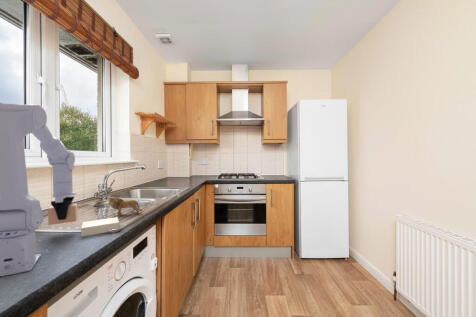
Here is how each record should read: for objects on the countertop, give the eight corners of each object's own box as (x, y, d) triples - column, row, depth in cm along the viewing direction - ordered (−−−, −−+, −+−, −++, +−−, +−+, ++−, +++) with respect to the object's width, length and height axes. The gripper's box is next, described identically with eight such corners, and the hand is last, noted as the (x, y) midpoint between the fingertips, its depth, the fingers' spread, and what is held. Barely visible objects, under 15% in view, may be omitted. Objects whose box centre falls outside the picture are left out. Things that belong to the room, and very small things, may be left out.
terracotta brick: (76, 221, 81) (75, 205, 81) (48, 225, 77) (48, 208, 77) (77, 218, 85) (77, 203, 84) (51, 221, 81) (51, 205, 80)
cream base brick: (119, 231, 83) (118, 222, 83) (81, 237, 77) (81, 228, 77) (117, 225, 90) (117, 217, 90) (83, 230, 84) (82, 222, 83)
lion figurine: (108, 217, 100) (108, 198, 99) (109, 214, 104) (108, 196, 104) (142, 213, 107) (142, 195, 107) (141, 210, 111) (141, 193, 111)
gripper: (72, 183, 76) (73, 221, 76) (78, 179, 89) (79, 211, 89) (46, 185, 72) (48, 224, 73) (56, 180, 85) (57, 214, 85)
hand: (63, 217), depth 81 cm, fingers closed on terracotta brick, 4 cm apart
